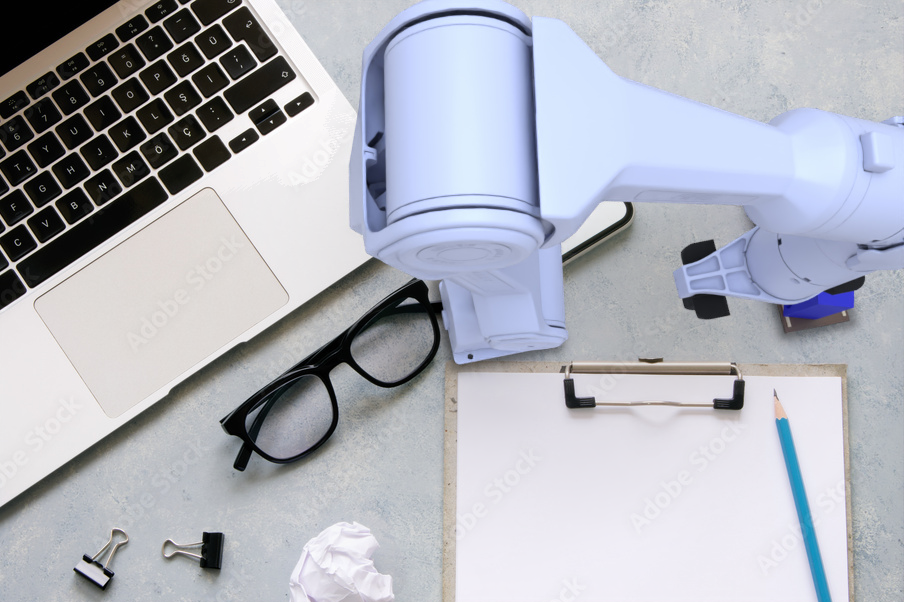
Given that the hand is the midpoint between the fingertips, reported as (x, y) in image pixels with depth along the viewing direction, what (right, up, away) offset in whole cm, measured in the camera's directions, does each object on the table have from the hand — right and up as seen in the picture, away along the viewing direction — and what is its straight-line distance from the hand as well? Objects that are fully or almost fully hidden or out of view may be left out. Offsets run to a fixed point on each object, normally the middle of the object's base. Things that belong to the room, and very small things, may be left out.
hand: (732, 287), depth 61 cm
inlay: (+10, +4, +10) cm, 15 cm away
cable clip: (+10, +4, +10) cm, 14 cm away
